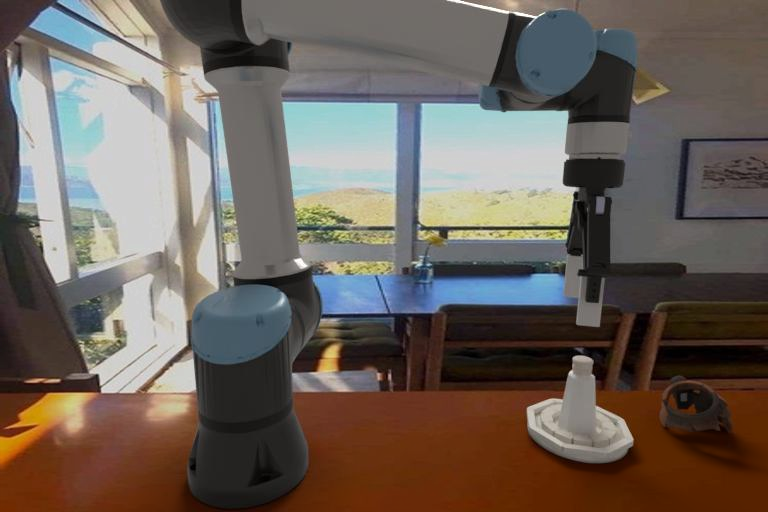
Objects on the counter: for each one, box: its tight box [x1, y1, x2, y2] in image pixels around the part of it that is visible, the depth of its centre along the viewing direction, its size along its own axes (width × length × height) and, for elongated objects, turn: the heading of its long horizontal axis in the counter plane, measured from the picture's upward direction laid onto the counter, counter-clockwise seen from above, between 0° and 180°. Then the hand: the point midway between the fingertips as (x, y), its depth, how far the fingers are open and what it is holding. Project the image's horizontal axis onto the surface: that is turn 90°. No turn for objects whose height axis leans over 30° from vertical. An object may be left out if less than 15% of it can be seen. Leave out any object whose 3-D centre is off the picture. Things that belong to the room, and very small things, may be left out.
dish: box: [526, 398, 635, 464], centre depth 70 cm, size 14×14×2 cm
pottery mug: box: [659, 375, 734, 434], centre depth 73 cm, size 12×10×8 cm
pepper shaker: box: [558, 355, 597, 435], centre depth 69 cm, size 5×5×11 cm
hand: (579, 309), depth 67 cm, fingers open, 13 cm apart
